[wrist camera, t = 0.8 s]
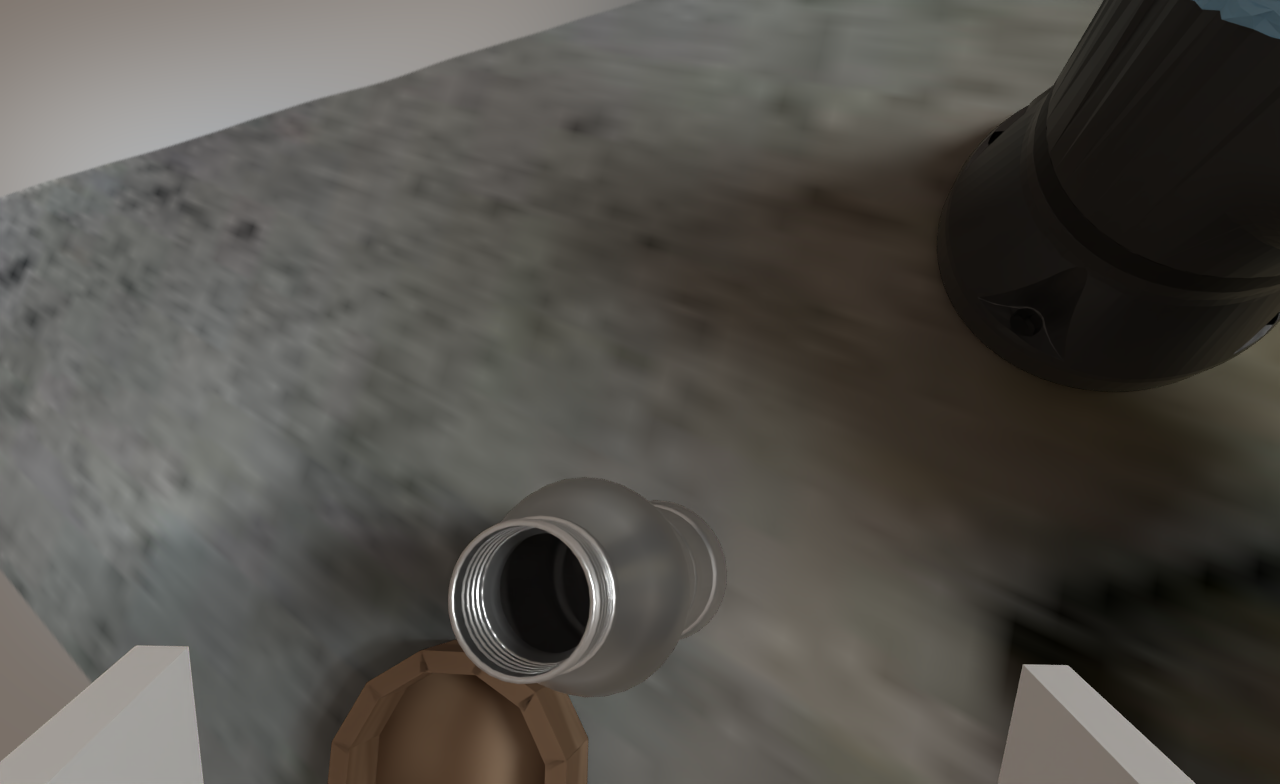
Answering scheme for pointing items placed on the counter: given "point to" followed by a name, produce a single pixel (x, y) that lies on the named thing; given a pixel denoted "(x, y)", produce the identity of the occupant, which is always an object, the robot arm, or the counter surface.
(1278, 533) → the counter surface
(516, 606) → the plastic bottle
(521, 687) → the bowl
